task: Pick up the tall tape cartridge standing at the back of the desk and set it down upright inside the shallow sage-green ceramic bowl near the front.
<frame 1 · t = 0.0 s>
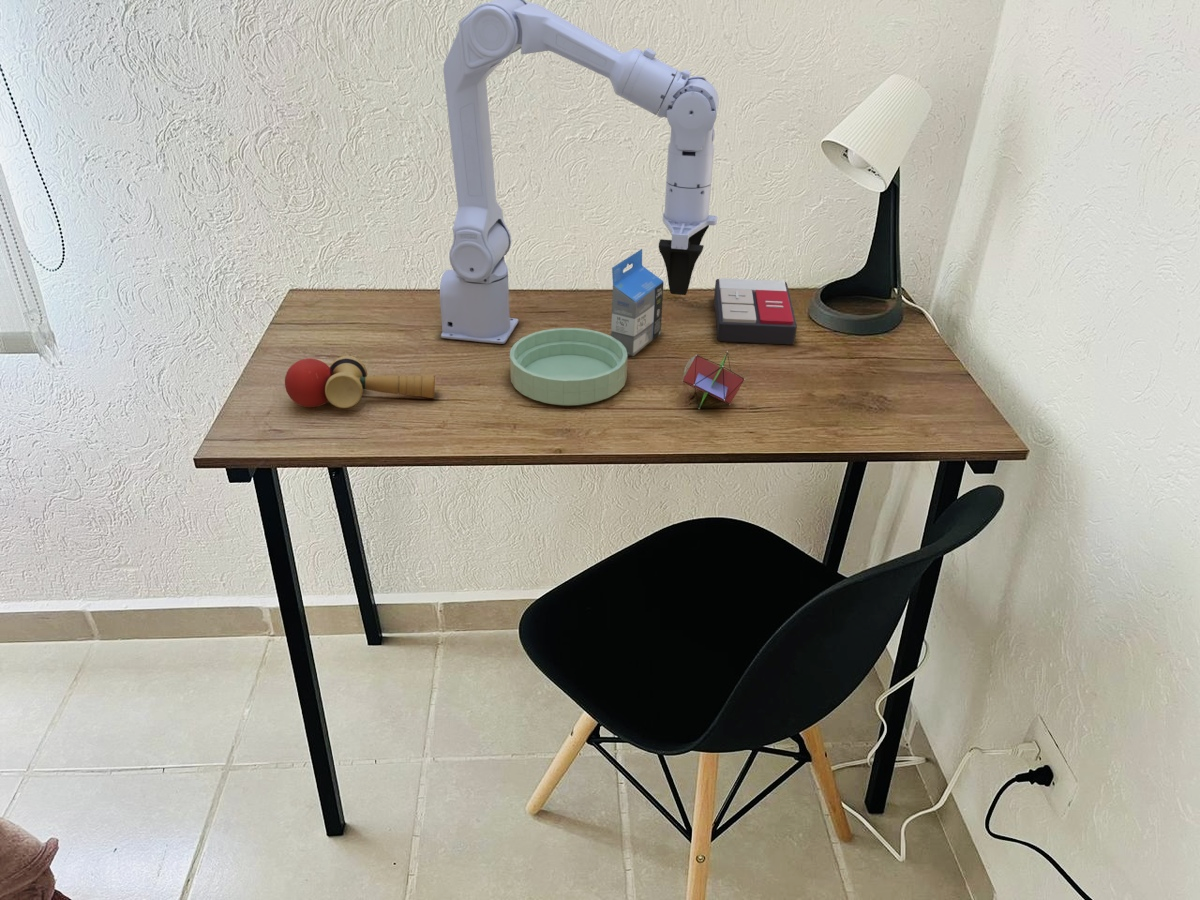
hand: (681, 282, 123), 10 cm above the table, tool pointing down, fingers open, 7 cm apart
calculator: (751, 323, 137), on the table
tape cartridge: (635, 344, 131), on the table
bowl: (568, 379, 121), on the table
kendama: (364, 401, 115), on the table
geometric puzzle: (711, 403, 116), on the table
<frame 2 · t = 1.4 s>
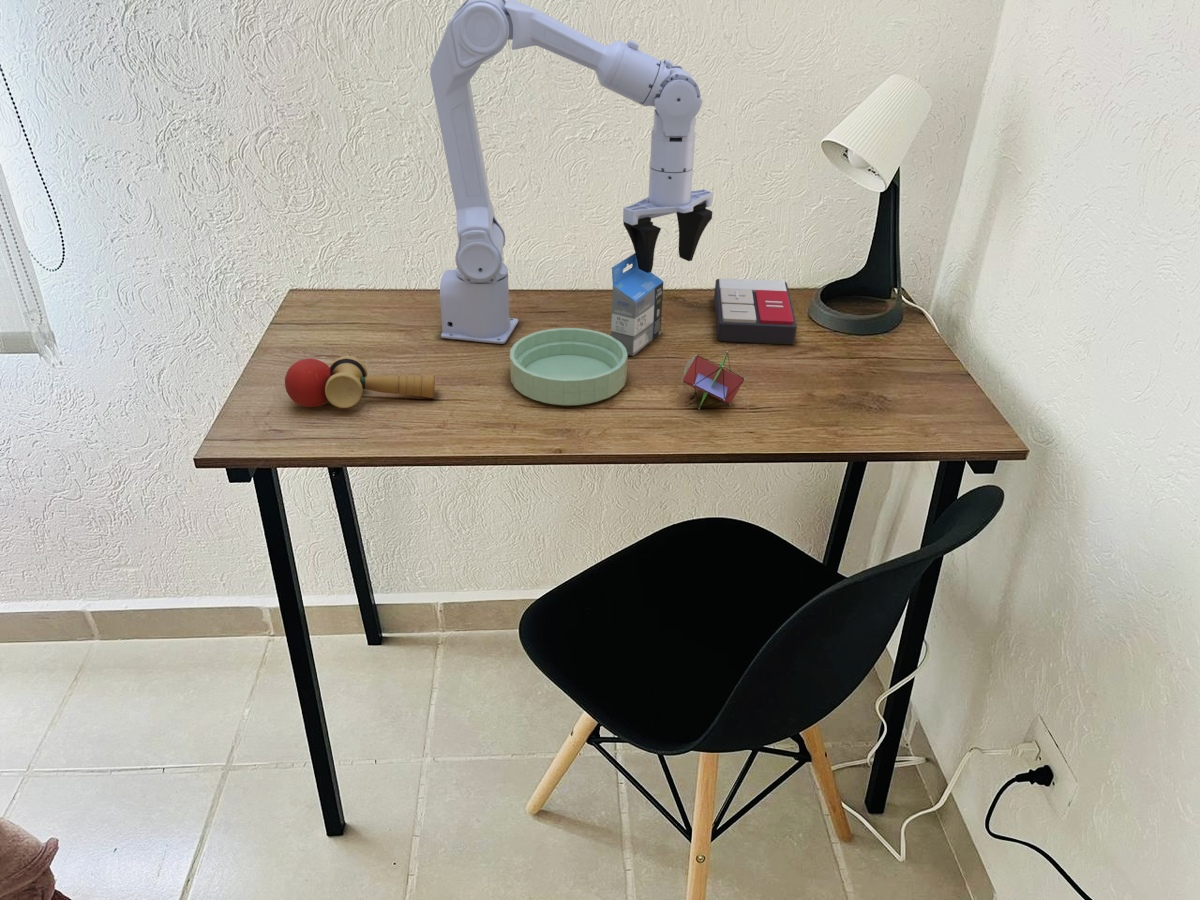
hand: (665, 264, 128), 10 cm above the table, tool pointing down, fingers open, 7 cm apart
tape cartridge: (635, 344, 131), on the table, touching gripper
everything else where it was.
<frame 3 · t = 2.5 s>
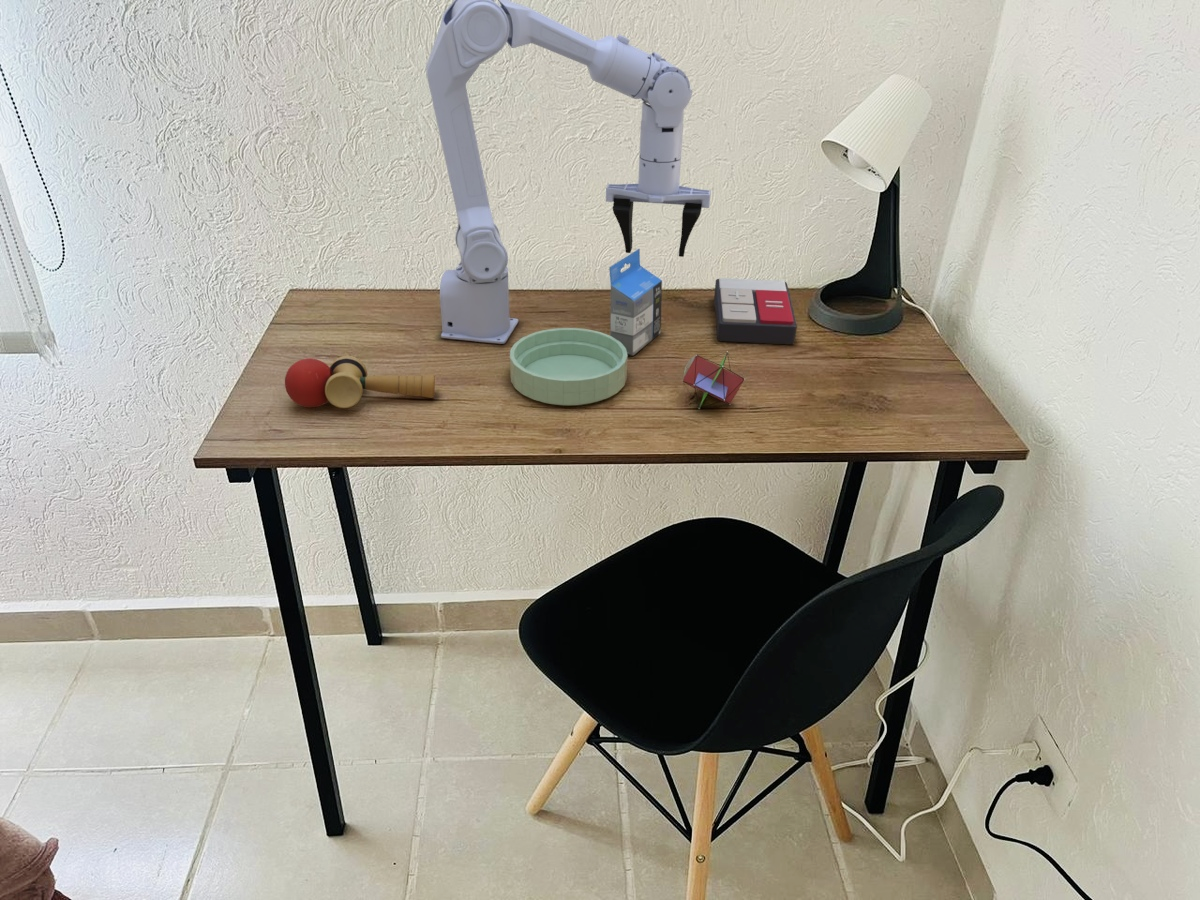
hand: (655, 252, 132), 10 cm above the table, tool pointing down, fingers open, 7 cm apart
tape cartridge: (635, 343, 131), on the table
everything else where it was.
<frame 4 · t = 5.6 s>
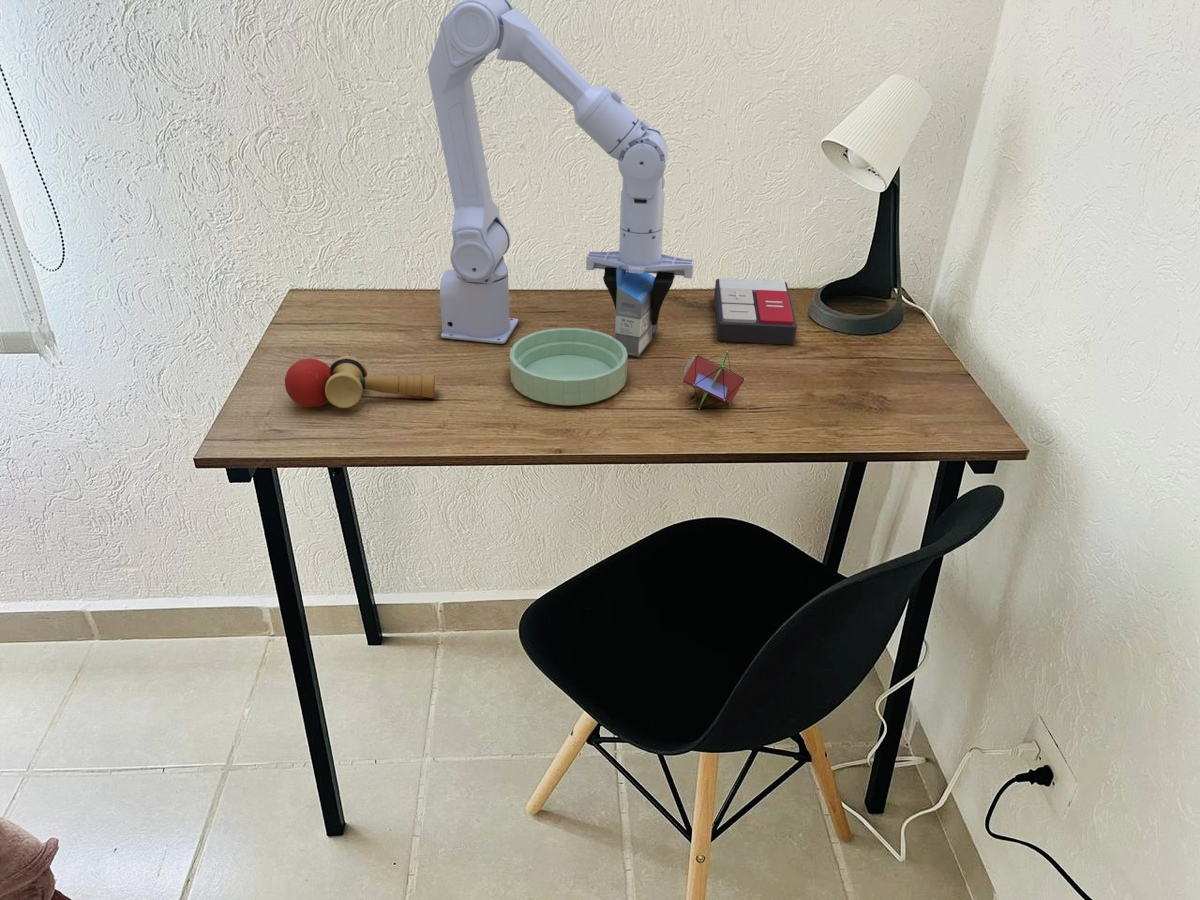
hand: (637, 320, 129), 3 cm above the table, tool pointing down, fingers closed on tape cartridge, 4 cm apart
tape cartridge: (635, 344, 130), on the table, touching gripper
everything else where it was.
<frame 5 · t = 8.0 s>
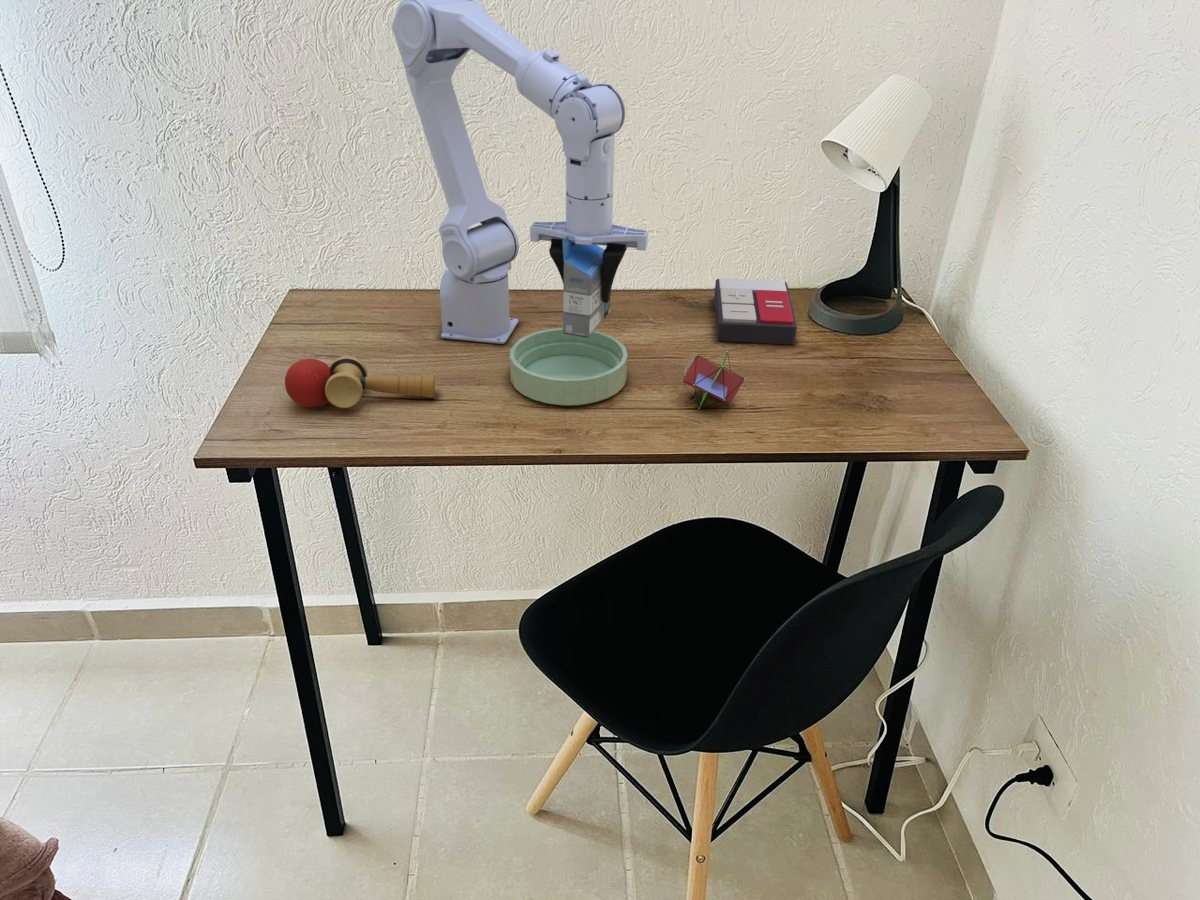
hand: (588, 297, 118), 10 cm above the table, tool pointing down, fingers closed on tape cartridge, 4 cm apart
tape cartridge: (586, 324, 119), point 7 cm above the table, touching gripper
everything else where it was.
when the fingers open (4 cm above the table, at t = 10.3 s): tape cartridge stays where it is, resting on bowl.
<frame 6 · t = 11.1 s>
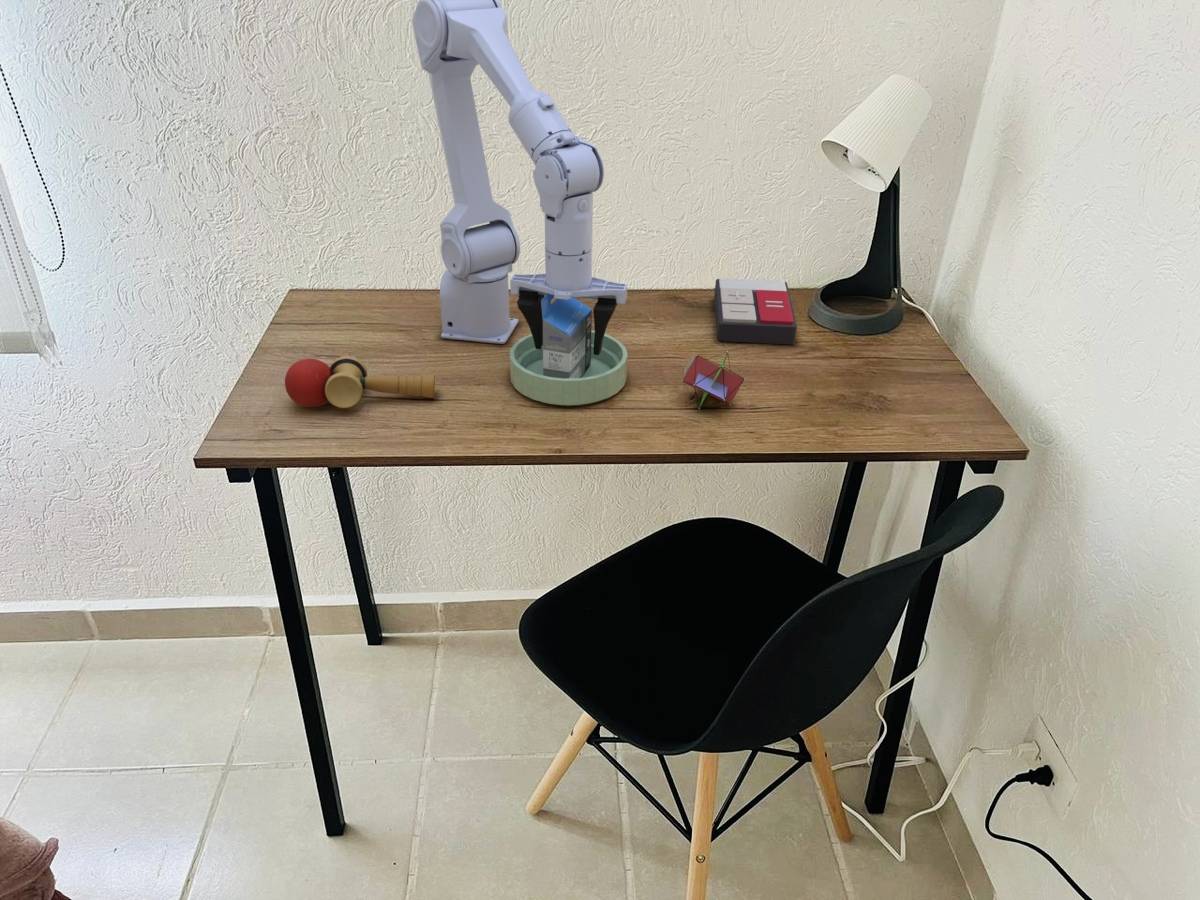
hand: (568, 348, 118), 5 cm above the table, tool pointing down, fingers open, 7 cm apart
tape cartridge: (567, 378, 120), resting on bowl
everything else where it was.
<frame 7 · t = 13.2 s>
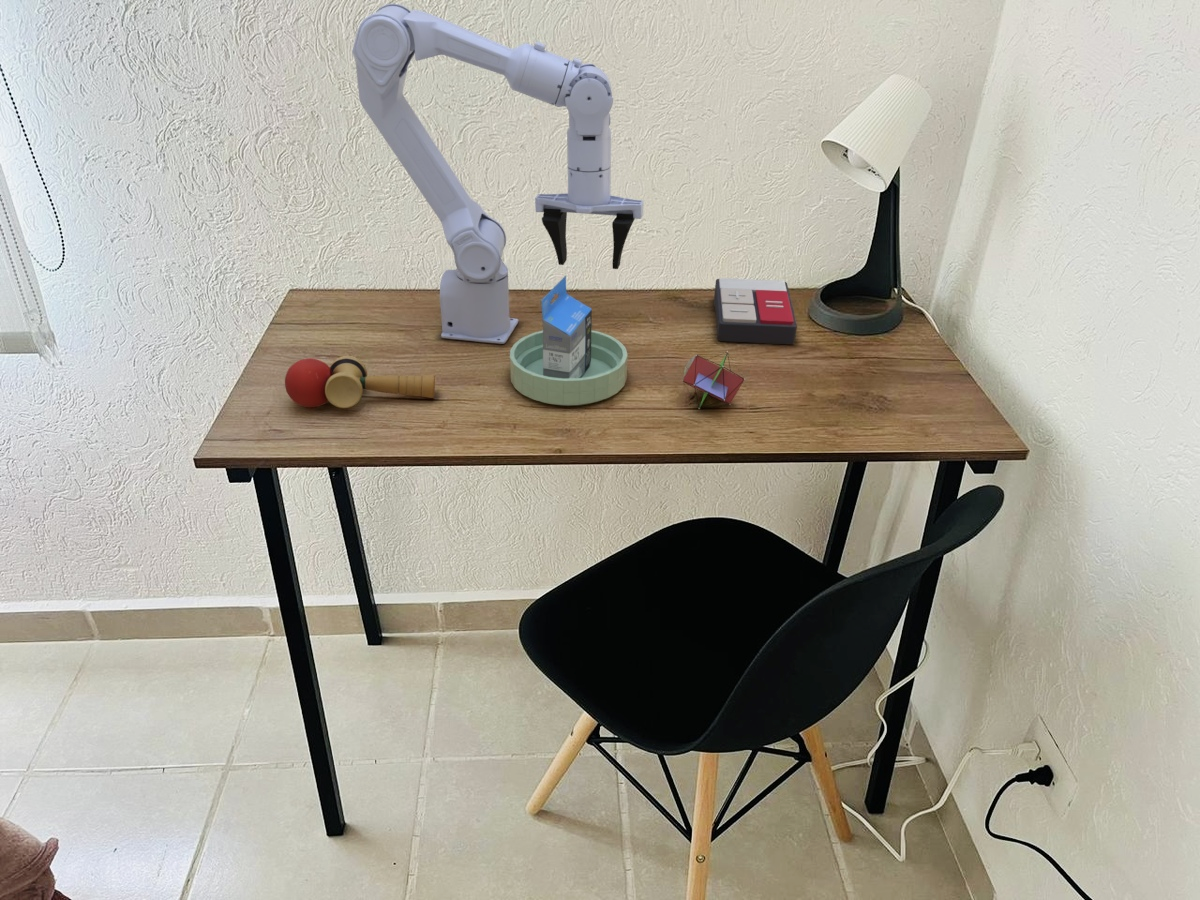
hand: (589, 264, 128), 10 cm above the table, tool pointing down, fingers open, 7 cm apart
nothing on the table moved.
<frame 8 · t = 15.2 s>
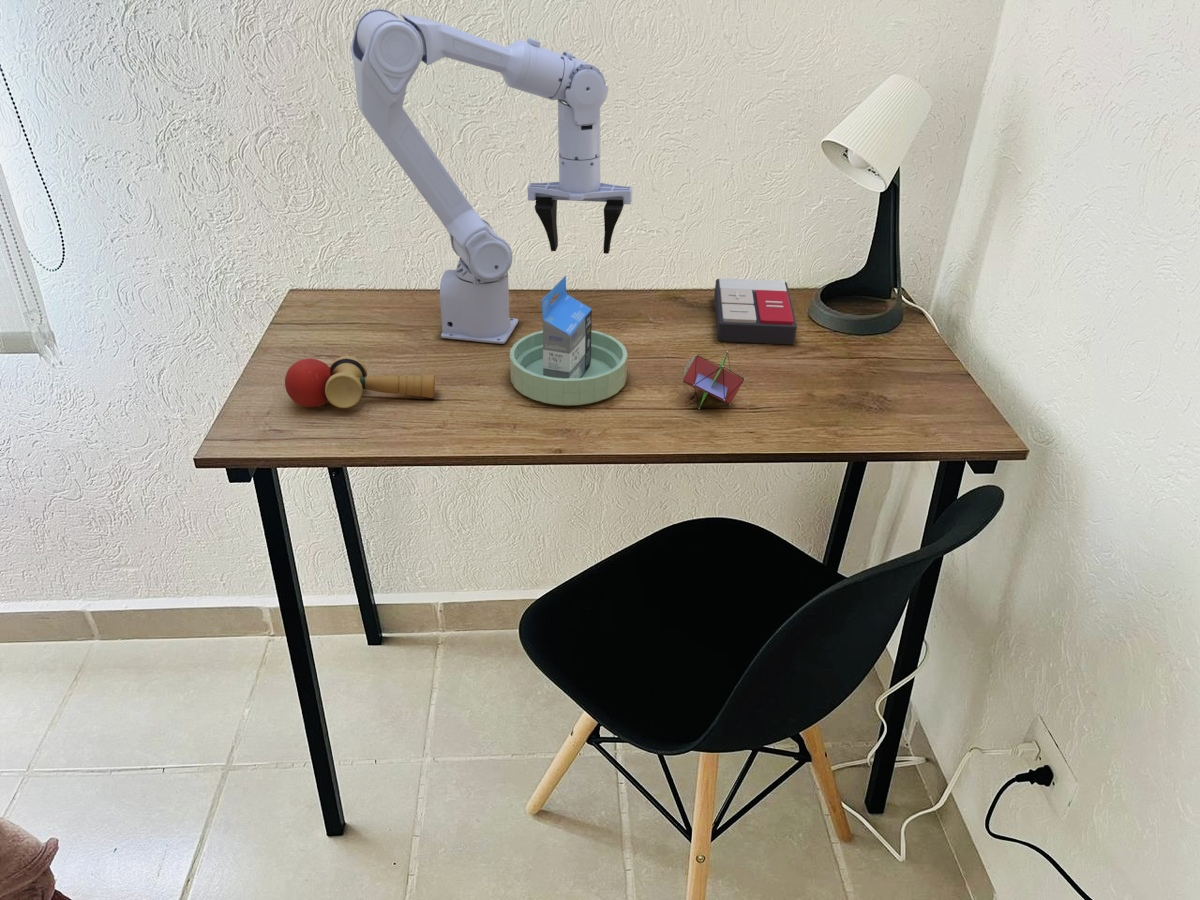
hand: (580, 250, 132), 10 cm above the table, tool pointing down, fingers open, 7 cm apart
nothing on the table moved.
at the end: tape cartridge inside the target area in the bowl (0.3 cm from its centre), point 0.3 cm above the bowl's base; the gripper is holding nothing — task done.
